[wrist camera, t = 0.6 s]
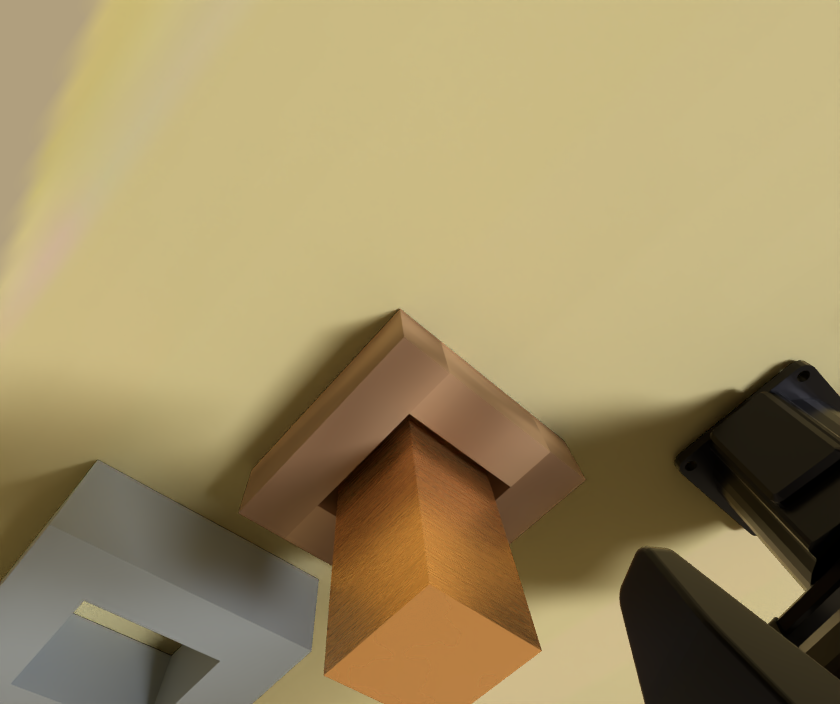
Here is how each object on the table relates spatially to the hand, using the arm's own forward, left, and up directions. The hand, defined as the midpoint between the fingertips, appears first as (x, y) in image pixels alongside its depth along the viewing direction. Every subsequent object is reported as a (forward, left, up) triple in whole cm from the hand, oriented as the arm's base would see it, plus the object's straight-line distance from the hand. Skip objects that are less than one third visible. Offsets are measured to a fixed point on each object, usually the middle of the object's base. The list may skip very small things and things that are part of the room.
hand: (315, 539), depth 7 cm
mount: (-7, +5, -13) cm, 15 cm away
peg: (-7, +5, -13) cm, 15 cm away
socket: (-3, +18, -13) cm, 22 cm away
